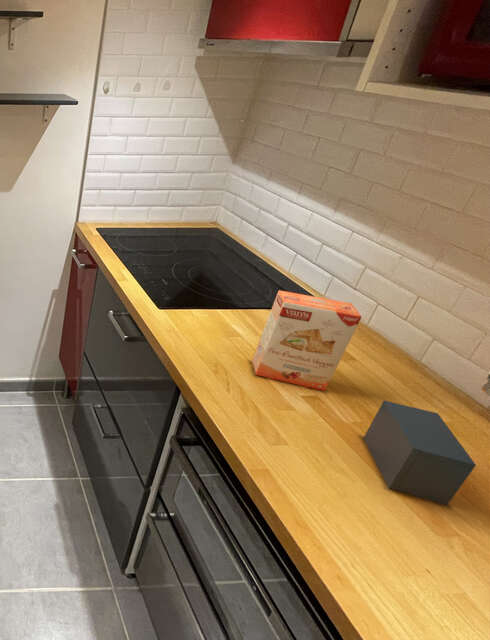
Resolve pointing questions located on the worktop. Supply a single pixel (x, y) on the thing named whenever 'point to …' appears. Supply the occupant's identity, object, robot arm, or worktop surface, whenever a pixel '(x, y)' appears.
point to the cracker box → (304, 339)
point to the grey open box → (417, 452)
